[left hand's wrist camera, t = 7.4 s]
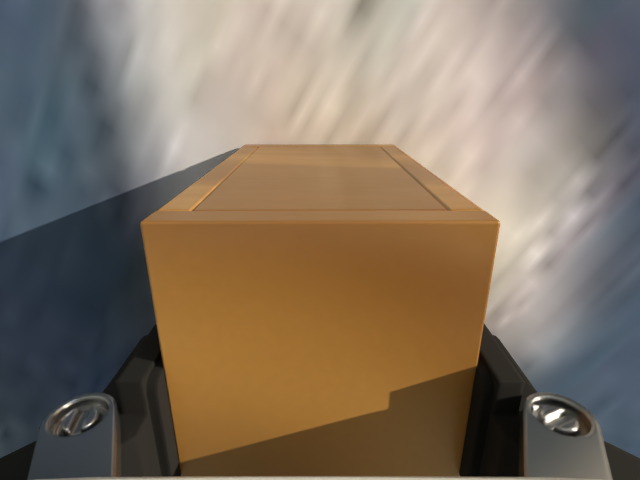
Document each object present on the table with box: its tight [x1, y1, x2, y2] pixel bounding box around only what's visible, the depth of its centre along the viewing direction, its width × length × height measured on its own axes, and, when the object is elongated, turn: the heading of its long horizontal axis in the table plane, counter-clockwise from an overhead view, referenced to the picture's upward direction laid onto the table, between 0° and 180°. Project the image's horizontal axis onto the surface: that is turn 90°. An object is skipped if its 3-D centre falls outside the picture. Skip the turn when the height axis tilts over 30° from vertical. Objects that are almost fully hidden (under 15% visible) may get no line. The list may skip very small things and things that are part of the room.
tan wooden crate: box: [140, 145, 500, 477], centre depth 15 cm, size 18×6×11 cm, turn 0°
